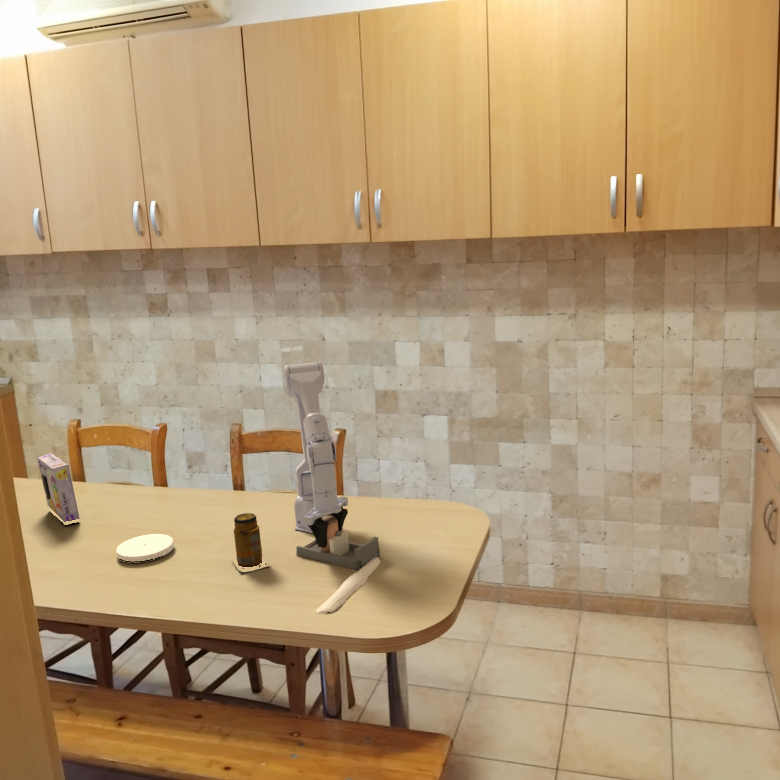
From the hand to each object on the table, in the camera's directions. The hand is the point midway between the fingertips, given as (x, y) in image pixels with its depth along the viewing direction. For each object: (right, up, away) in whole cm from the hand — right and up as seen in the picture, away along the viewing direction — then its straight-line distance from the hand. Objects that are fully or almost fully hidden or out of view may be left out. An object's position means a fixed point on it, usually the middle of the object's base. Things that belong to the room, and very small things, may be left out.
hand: (329, 542), depth 193 cm
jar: (0, -3, +1) cm, 3 cm away
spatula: (+6, -7, -16) cm, 18 cm away
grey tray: (+2, -3, -1) cm, 4 cm away
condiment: (-19, -5, -2) cm, 20 cm away
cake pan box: (-81, 0, +40) cm, 90 cm away
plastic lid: (-47, -5, +10) cm, 49 cm away
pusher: (+3, -3, -1) cm, 4 cm away
